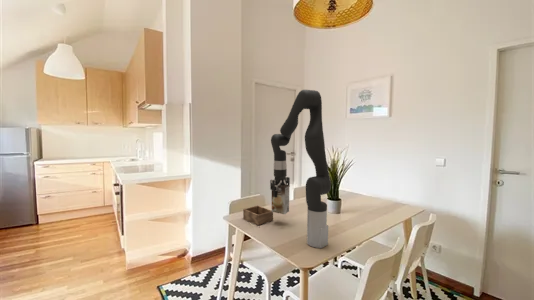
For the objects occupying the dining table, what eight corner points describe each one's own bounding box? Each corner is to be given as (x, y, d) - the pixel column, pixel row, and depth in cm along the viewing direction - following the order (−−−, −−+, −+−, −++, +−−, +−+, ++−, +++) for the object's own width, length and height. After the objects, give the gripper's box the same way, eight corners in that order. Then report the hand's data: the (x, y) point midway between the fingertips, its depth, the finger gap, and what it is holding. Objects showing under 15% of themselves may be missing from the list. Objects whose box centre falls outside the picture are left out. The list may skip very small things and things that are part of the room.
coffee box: (270, 212, 143) (270, 185, 141) (276, 209, 148) (275, 183, 147) (284, 214, 138) (284, 186, 137) (289, 211, 143) (289, 184, 142)
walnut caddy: (273, 220, 148) (273, 211, 147) (258, 225, 140) (258, 215, 140) (257, 214, 159) (257, 205, 158) (243, 218, 151) (243, 209, 150)
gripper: (275, 170, 134) (276, 199, 135) (293, 167, 143) (293, 194, 144) (266, 168, 139) (266, 197, 140) (283, 166, 149) (284, 192, 150)
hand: (280, 195), depth 142 cm, fingers closed on coffee box, 7 cm apart
